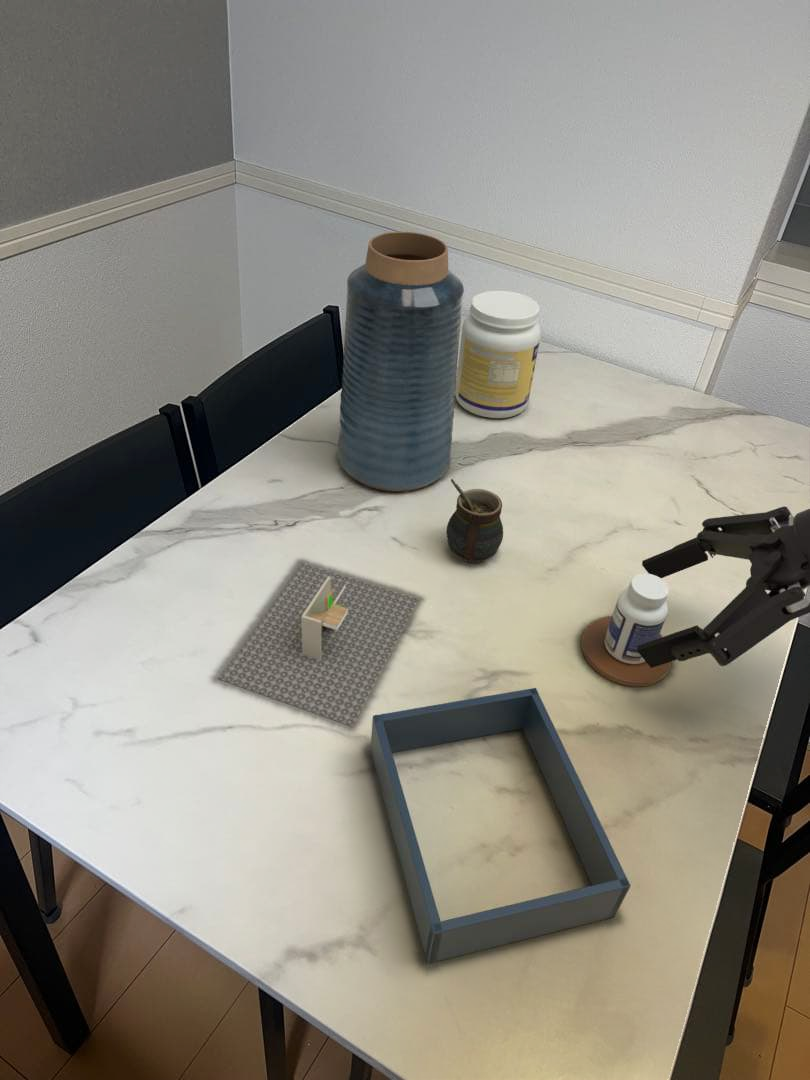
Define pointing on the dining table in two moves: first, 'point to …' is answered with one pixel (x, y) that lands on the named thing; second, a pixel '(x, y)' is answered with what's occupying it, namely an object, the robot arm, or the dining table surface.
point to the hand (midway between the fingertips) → (646, 611)
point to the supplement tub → (498, 354)
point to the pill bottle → (637, 617)
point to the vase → (400, 363)
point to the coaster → (611, 666)
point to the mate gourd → (475, 525)
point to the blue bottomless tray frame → (567, 793)
